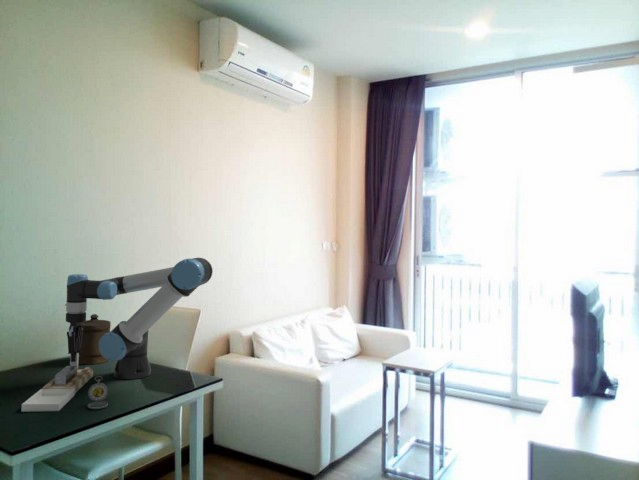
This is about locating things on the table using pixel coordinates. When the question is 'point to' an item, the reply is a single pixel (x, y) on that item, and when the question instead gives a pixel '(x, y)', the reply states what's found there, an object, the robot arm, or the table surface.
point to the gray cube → (72, 368)
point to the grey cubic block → (62, 378)
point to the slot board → (73, 380)
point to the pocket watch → (98, 394)
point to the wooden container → (92, 340)
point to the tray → (48, 400)
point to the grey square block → (70, 372)
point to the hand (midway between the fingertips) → (74, 368)
